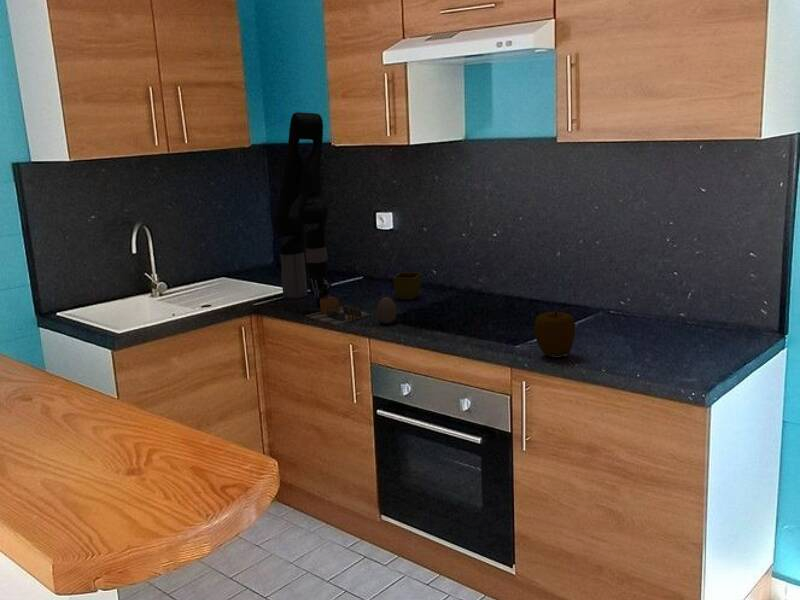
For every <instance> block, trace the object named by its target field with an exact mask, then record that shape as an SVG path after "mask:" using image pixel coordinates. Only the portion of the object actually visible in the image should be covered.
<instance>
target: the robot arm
mask: <svg viewBox="0 0 800 600" xmlns="http://www.w3.org/2000/svg"><path fill="white" fill-rule="evenodd" d="M290 118H291V119H290V122H289V133H288V142H287V152H286V156H285V162H284V165H283V166H284V168H283V172H282V178H281V186H280V191H279V195H278V196H279V197H278V202H277V204H276V208H275V212H274V216H273V220H272V227H273V233H274V234H275V235H276V236H278V237H281V238H283V237H290V238H289V239H288V241H287V242H285V243H284V244H282V245H280V247H279V255H280V266H281V273H280V275H281V277H280V278H281V288H282V295H283V298H285V299H300V298H301V299H302V298H305V297H307V296H308V289H309V291H310V293H311V295H312V296H314V298H315V302H316V307H317V308H318V309H320V299H321V298H322V297H326V296H329V292H330V289H331V288H332V283H330V282H329V283H328V281H327V280H328V277H327V275H326V274H327V273H328V272H329V263H328V251H327V247H326V246H327V245H326V228H327V227H326V226H327V223H328V217H329V209H328V206H327V205H326V204H325V203H322V202H317V203H316V202H315V203H314V202H313V203H309V202H310V201H311V200H312V199H315V198H319V197H321V196H322V194H323V190H322V187H323V186H322V171H321V169H322V168H321V166H322V153H323V139H324V138H323V137H324V124H323V123H324V121H323V118H322V116H321V114H320V113H316V112H315V113H313V112H301V111H297V112H294V113H293V114H292V115H291V117H290ZM301 140H307V141H308V140H310V141H312V148H311V152H310V153H309V156H308V158H307V159H306V160H305V158H304V157H303V154H302V152H301V149H300V147H299V146H300V144H299V143H300V141H301ZM300 197H301V198H300ZM299 198H300V202H299V206H298V210H292V211H291V209H292V206H294V204H295V203H296V202H297V201H298V199H299ZM311 224H313V225H315V224H318V226H317V227H316V228H314V229H310V230H307V231H306V232H305V225H311ZM304 249H305V250H304ZM307 275H309V279H308V280H307Z"/></svg>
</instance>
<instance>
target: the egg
mask: <svg viewBox="0 0 800 600" xmlns="http://www.w3.org/2000/svg"><path fill="white" fill-rule="evenodd" d="M397 311H398V310H397V306H396V304H395V302H394V300H393V299H392V298H390V297H388V296H384V297H382V298H381V299H380V300H379V302H378V303H377V307H376V314H377V315H376V316H377V318H378V319H379V321H380V322H381V323H383V324H384V325H385V324H386V325H389V323H390V324H392V323H393V322H394V320H395V319H396V318H397V314H398V312H397Z"/></svg>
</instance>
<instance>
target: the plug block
mask: <svg viewBox="0 0 800 600" xmlns="http://www.w3.org/2000/svg"><path fill="white" fill-rule="evenodd" d="M339 307H340V300H339V298H336V297H335V296H330V295H327V296H325V297H322V298H321V299H320V308H319V309H320V310H319V311H320V312H321V313H325V314H327V310H328V309H331V310H335V311H339ZM339 312H340V311H339Z"/></svg>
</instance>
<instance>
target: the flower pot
mask: <svg viewBox="0 0 800 600" xmlns="http://www.w3.org/2000/svg"><path fill="white" fill-rule="evenodd" d="M392 281H393V282H392V283H393V286H394V291H395V293H396V295H397V297H398V299H400V300H401V301H402V300H406V301H407V300H410V301H412V300H414V299H416V298H417V297H418V295H419V293H420V290H421V286H422V285H421V284H422V272H399V273H397V274H396V275H395V276H393V277H392Z"/></svg>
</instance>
